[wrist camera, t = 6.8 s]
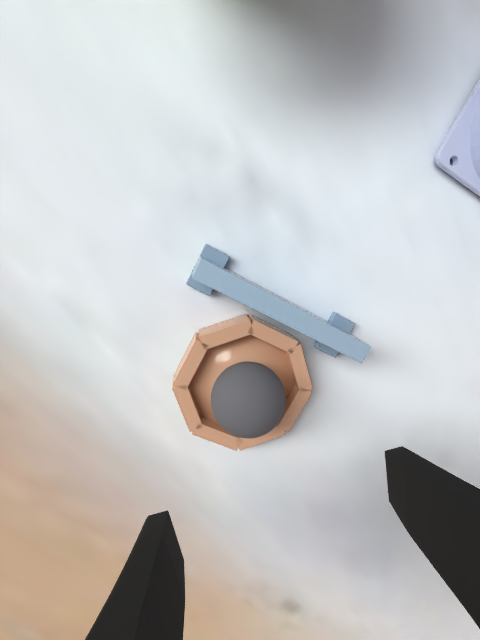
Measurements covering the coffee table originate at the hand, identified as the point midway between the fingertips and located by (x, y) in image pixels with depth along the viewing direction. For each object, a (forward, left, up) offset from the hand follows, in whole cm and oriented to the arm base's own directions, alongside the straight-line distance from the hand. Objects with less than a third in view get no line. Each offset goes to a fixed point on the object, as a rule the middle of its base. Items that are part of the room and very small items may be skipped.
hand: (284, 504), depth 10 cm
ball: (0, 0, -9) cm, 9 cm away
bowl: (0, 0, -10) cm, 10 cm away
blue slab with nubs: (0, -5, -10) cm, 11 cm away
